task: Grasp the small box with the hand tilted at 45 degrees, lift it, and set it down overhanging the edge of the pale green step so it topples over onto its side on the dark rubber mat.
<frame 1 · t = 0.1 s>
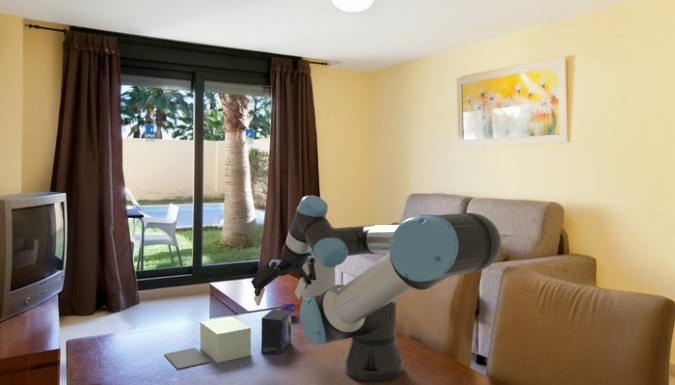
hand: (277, 298, 145), 15 cm above the table, tool tilted 35°, fingers open, 13 cm apart
step: (225, 351, 143), on the table
mat: (186, 358, 138), on the table
game controller: (290, 318, 179), on the table
cylinder vase: (319, 310, 188), on the table
small box: (277, 349, 146), on the table
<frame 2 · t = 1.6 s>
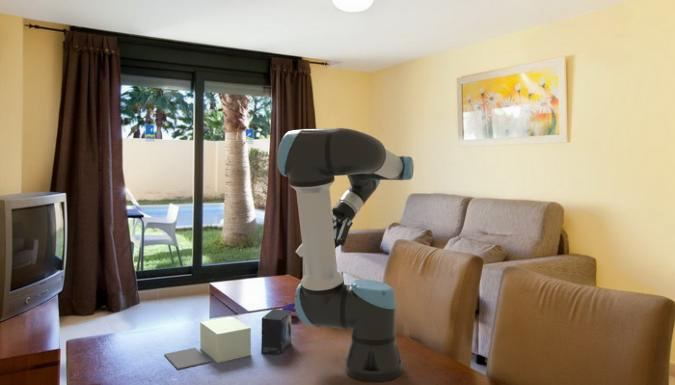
hand: (309, 257, 155), 26 cm above the table, tool tilted 45°, fingers open, 13 cm apart
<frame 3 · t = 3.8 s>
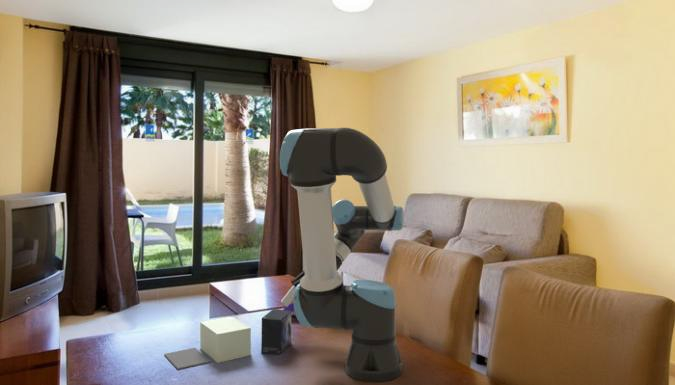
hand: (294, 309, 151), 11 cm above the table, tool tilted 45°, fingers open, 13 cm apart
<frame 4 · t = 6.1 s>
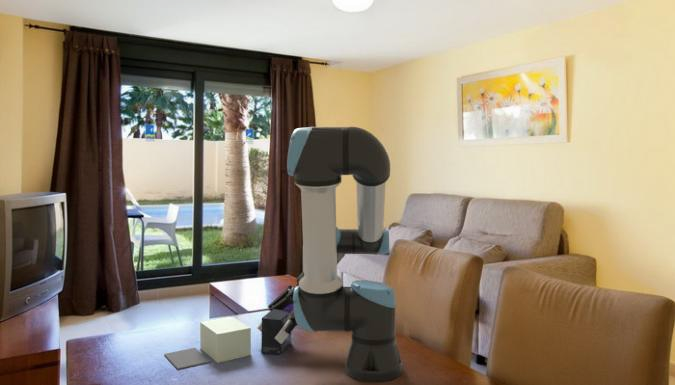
hand: (268, 335, 145), 4 cm above the table, tool tilted 45°, fingers closed on small box, 11 cm apart
small box: (277, 348, 146), on the table, touching gripper
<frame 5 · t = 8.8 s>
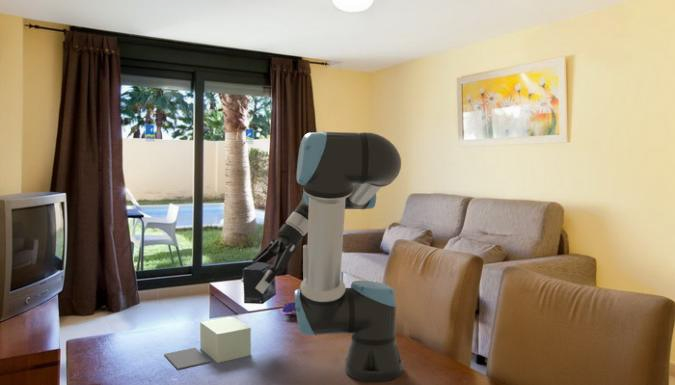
hand: (251, 287, 146), 18 cm above the table, tool tilted 40°, fingers closed on small box, 11 cm apart
small box: (260, 299, 148), point 14 cm above the table, touching gripper
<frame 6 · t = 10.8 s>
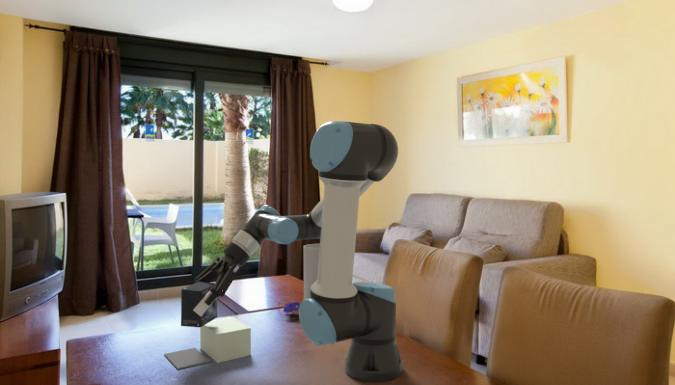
hand: (189, 308, 137), 14 cm above the table, tool tilted 45°, fingers closed on small box, 11 cm apart
small box: (200, 322, 139), point 10 cm above the table, touching gripper
when the fingers open (13 cm above the table, at t = 11.7 s): small box drops 5 cm, resting on mat.
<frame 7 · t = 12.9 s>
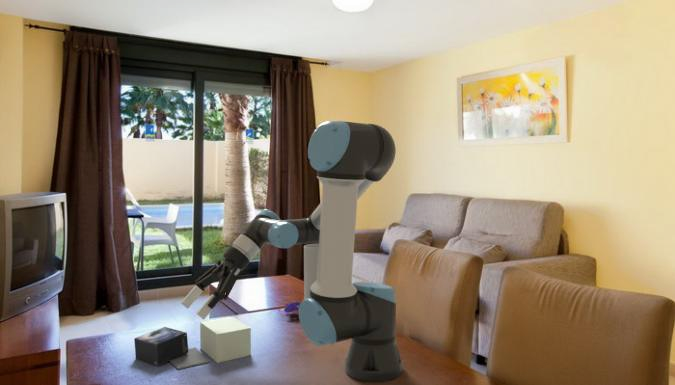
hand: (191, 311, 137), 14 cm above the table, tool tilted 45°, fingers open, 13 cm apart
small box: (177, 338, 143), point 4 cm above the table, touching mat
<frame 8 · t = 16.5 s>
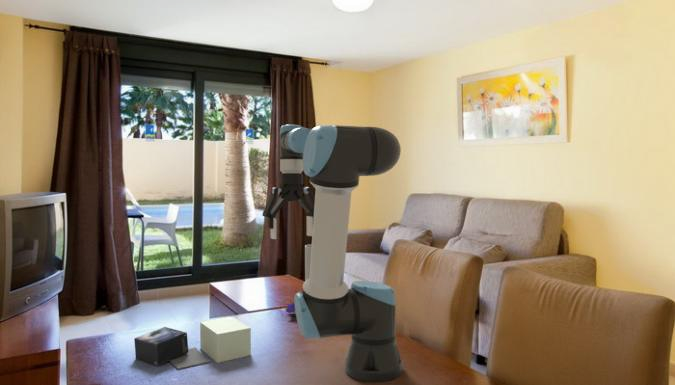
hand: (292, 237, 160), 32 cm above the table, tool pointing down, fingers open, 13 cm apart
at the end: small box tilted 95°; small box inside the target area (8.3 cm from its centre), point 3.9 cm above the table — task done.
